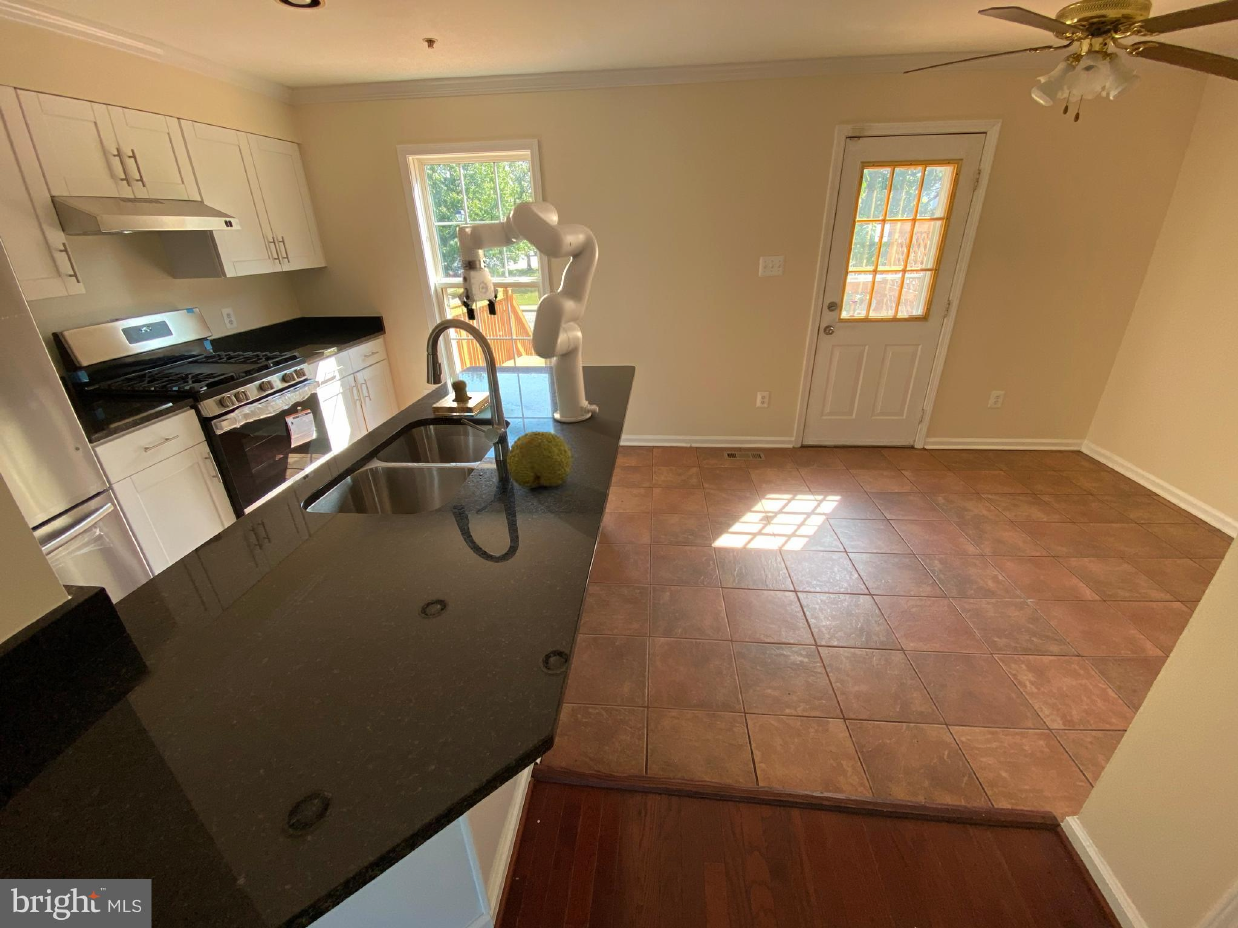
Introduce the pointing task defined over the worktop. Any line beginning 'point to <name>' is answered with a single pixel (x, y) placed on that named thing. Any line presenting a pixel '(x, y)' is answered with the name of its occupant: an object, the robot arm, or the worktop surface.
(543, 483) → the fruit
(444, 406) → the stand
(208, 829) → the worktop surface
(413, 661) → the worktop surface
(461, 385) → the cork
